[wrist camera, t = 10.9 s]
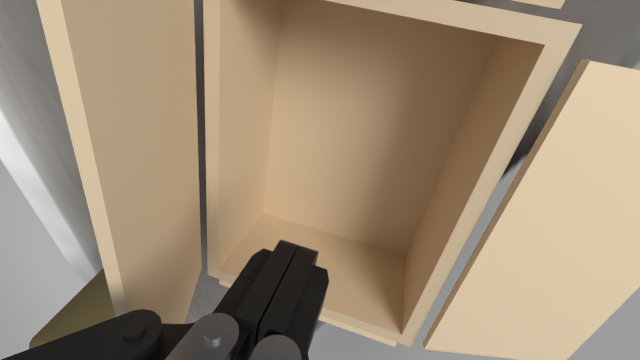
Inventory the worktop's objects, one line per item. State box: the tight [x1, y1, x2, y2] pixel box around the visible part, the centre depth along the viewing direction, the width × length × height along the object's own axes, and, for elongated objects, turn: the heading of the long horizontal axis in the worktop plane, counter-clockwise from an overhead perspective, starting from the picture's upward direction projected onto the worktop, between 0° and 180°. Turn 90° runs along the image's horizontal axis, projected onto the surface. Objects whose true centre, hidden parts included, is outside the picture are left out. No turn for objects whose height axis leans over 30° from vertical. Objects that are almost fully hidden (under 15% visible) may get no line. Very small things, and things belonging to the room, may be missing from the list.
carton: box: [203, 0, 582, 347], centre depth 20 cm, size 23×14×8 cm, turn 170°
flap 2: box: [423, 59, 640, 360], centre depth 15 cm, size 17×1×9 cm
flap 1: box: [36, 0, 202, 324], centre depth 13 cm, size 17×1×9 cm, turn 170°
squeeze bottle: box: [29, 268, 116, 349], centre depth 30 cm, size 8×8×18 cm
